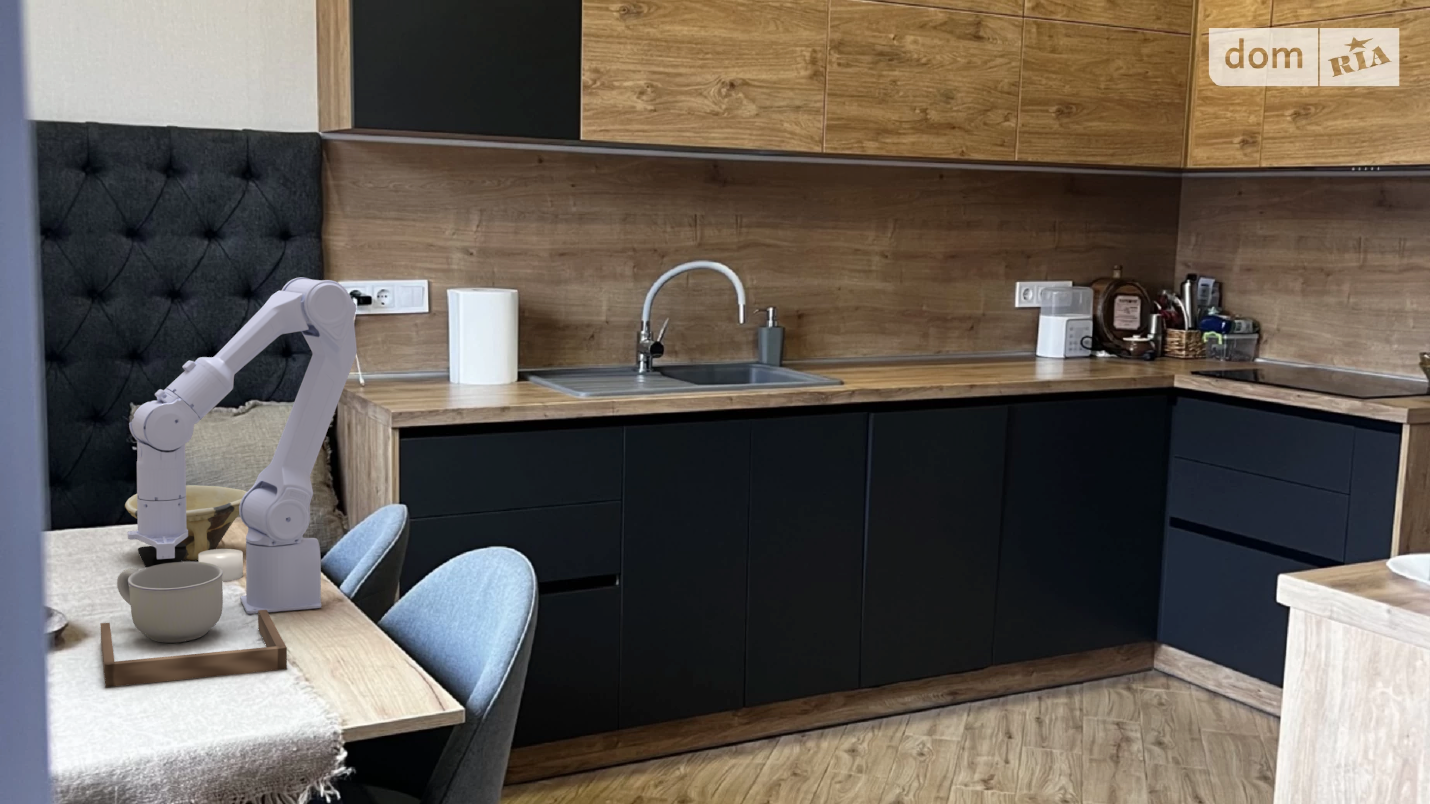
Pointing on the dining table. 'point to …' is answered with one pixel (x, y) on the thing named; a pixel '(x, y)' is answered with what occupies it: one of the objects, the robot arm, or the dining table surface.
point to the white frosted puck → (225, 562)
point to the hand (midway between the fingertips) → (162, 602)
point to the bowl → (204, 516)
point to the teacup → (173, 599)
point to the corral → (195, 660)
